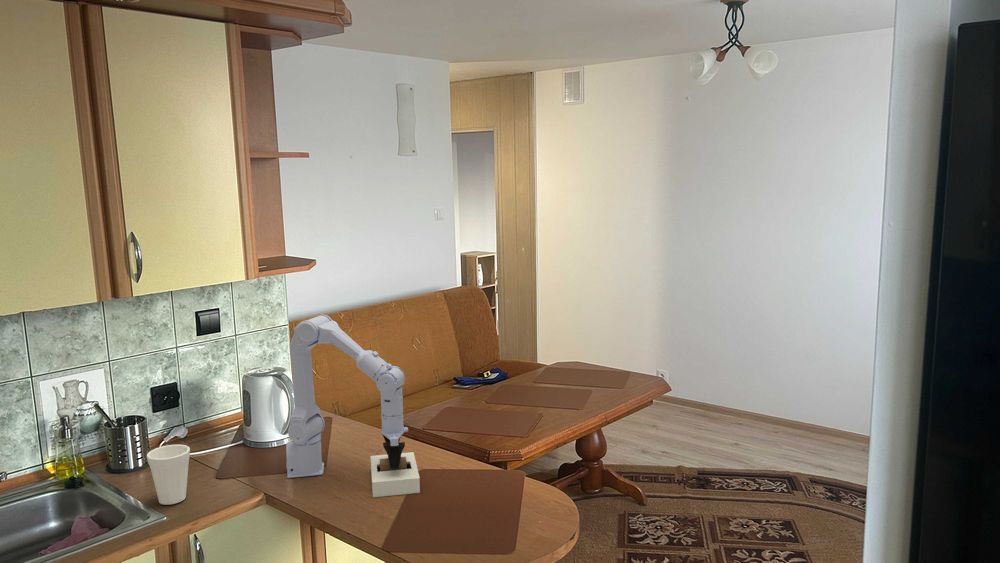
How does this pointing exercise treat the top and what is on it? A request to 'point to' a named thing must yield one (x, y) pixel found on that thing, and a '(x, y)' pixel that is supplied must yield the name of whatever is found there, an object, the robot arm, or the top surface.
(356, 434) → the top surface
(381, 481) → the slotted box
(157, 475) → the cup
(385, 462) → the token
